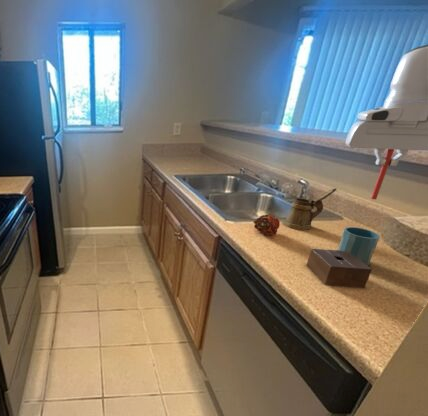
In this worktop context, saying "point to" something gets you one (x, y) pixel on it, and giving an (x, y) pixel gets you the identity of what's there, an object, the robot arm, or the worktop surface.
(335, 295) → the worktop surface
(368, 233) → the cup
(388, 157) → the straw
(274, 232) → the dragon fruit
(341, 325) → the worktop surface
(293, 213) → the wooden mug
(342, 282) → the block
